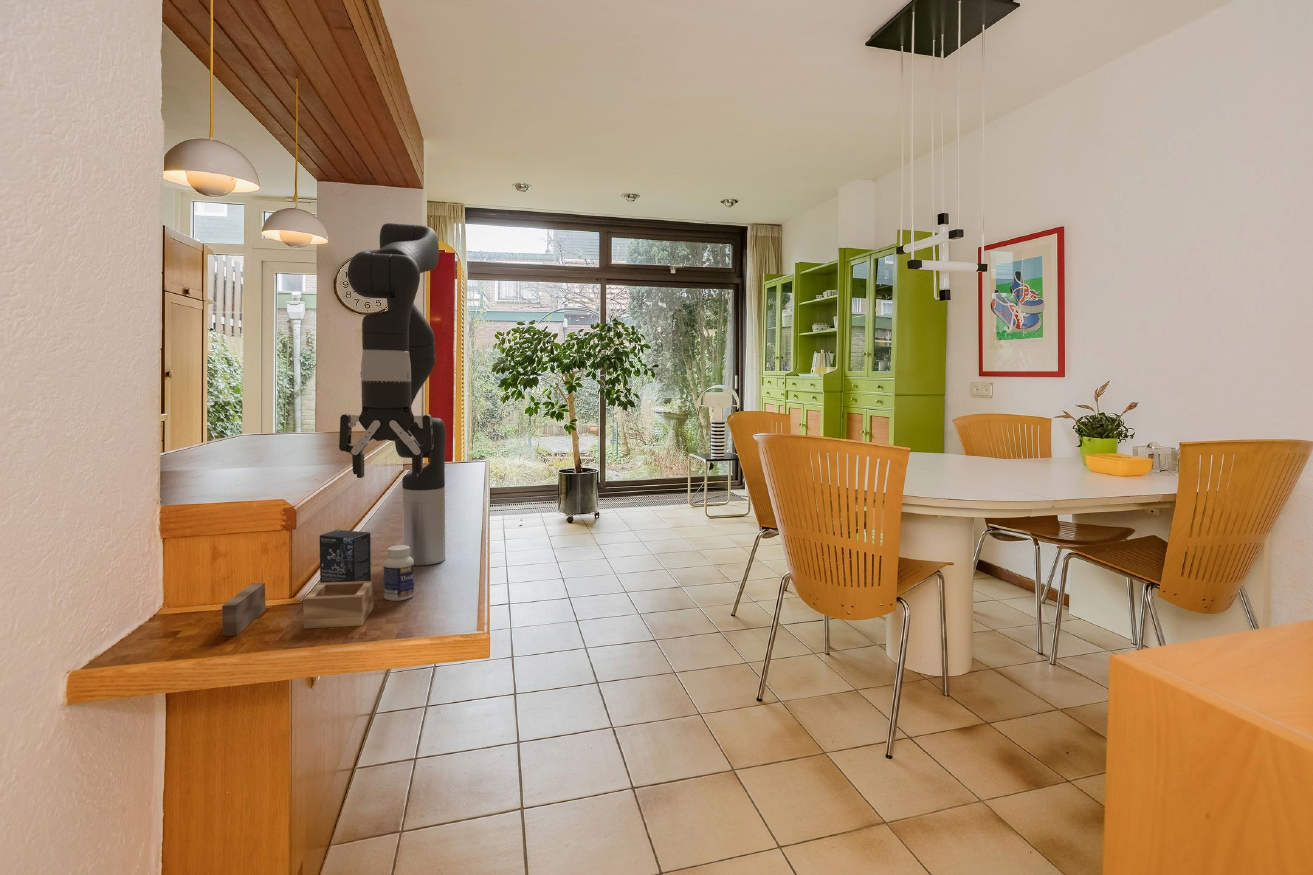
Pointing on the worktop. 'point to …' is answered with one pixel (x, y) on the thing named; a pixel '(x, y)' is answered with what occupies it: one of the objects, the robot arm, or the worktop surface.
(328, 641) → the worktop surface
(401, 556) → the pill bottle
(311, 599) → the light brown wooden tray
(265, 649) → the worktop surface
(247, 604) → the plank
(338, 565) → the box
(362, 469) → the robot arm
